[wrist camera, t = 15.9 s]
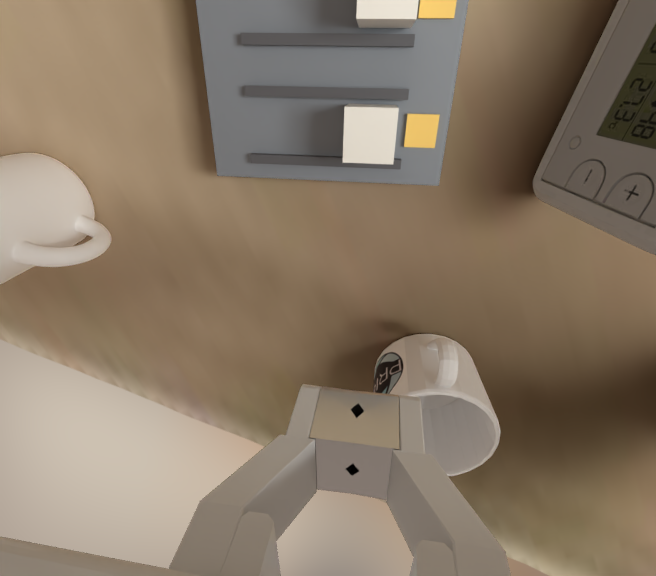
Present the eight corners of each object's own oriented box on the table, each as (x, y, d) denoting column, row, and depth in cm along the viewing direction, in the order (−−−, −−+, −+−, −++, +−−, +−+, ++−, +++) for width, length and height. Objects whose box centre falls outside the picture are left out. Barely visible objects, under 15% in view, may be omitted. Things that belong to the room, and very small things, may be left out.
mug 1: (142, 187, 32) (50, 228, 23) (135, 268, 36) (54, 330, 27) (3, 135, 31) (-150, 156, 22) (11, 224, 35) (-115, 272, 26)
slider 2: (396, 104, 23) (398, 108, 20) (391, 154, 25) (393, 164, 22) (348, 103, 24) (344, 106, 21) (346, 152, 25) (342, 162, 22)
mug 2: (465, 414, 40) (484, 484, 33) (367, 403, 41) (365, 470, 34) (496, 308, 33) (527, 367, 26) (378, 298, 34) (378, 354, 27)
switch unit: (498, -257, 18) (523, -328, 15) (433, 176, 29) (439, 187, 25) (188, -238, 20) (153, -299, 17) (231, 167, 30) (214, 177, 27)
